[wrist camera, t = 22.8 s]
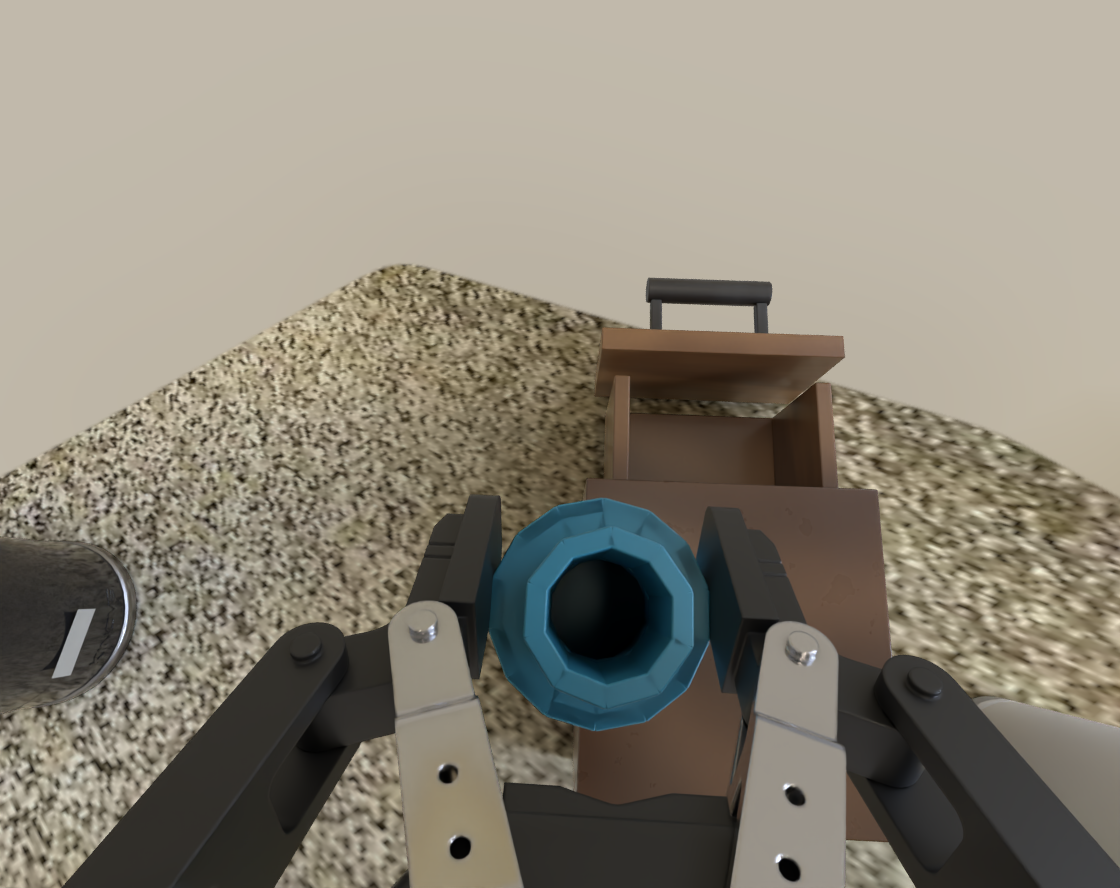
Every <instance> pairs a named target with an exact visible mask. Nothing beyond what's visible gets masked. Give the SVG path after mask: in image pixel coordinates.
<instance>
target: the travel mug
mask: <svg viewBox="0 0 1120 888" xmlns="http://www.w3.org/2000/svg"><path fill="white" fill-rule="evenodd" d="M972 700H973V702H974V703H975V704H976V705H977V706H978V707H979V708H980V710H981V711H982V712H983V713H984V714H985V715H986V716H987V718H988V719H989V720H990V721H991V722H992V723H993V724H994V725H995V727H996V728H997V729H998V730H999V731H1000V732H1001V733H1002V735H1003V736H1004V737H1005V738H1006V739H1007V740H1008V741H1009V743H1010V744H1011V745H1012V746H1013V747H1014V748H1015V749H1016V751H1017V752H1018V753H1019V754H1020V755H1021V756H1022V757H1023V759H1024V760H1025V761H1026V762H1027V763H1028V764H1029V765H1030V766H1031V768H1032V769H1033V770H1034V771H1035V772H1036V773H1037V774H1038V776H1039V777H1040V778H1041V779H1042V780H1043V781H1044V782H1045V784H1046V785H1047V786H1048V787H1049V788H1050V789H1051V790H1052V792H1053V793H1054V794H1055V795H1056V796H1057V797H1058V798H1059V800H1060V801H1061V802H1062V803H1063V804H1064V805H1065V806H1066V807H1067V809H1068V810H1069V811H1070V812H1071V813H1072V814H1073V815H1074V817H1075V818H1076V819H1077V820H1078V821H1079V822H1080V823H1081V825H1082V826H1083V827H1084V828H1085V829H1086V830H1087V831H1088V833H1089V834H1090V835H1091V836H1092V837H1093V838H1094V839H1095V840H1096V842H1097V843H1098V844H1099V845H1100V846H1101V847H1102V848H1103V850H1104V851H1105V852H1106V853H1107V854H1108V855H1109V856H1110V858H1111V859H1112V860H1113V861H1114V862H1115V863H1116V864H1117V866H1118V867H1119V868H1120V728H1118V727H1115V726H1111V725H1107V724H1103V723H1099V722H1095V721H1091V720H1087V719H1083V718H1079V717H1075V716H1071V715H1067V714H1063V713H1060V712H1056V711H1052V710H1048V709H1044V708H1040V707H1036V706H1032V705H1028V704H1024V703H1019V702H1016V701H1012V700H1008V699H1005V698H1000V697H993V696H983V697H977V698H973V699H972Z"/></svg>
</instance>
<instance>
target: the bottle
mask: <svg viewBox="0 0 1120 888" xmlns="http://www.w3.org/2000/svg"><path fill="white" fill-rule="evenodd" d="M708 589H709V587H708V585H707V583H706V580H705V578H704V576H703V574H702V572H701V570H700V567H699V565H698V563H697V561H696V559H695V557H694V555H693V552H692V550H691V548H690V546H689V544H687V542H686V541H685V540H684V539H683V538H682V537H681V536H679V535H678V534H677V533H676V532H675V531H674V530H672V529H671V528H670V527H669V526H668V525H667V524H665V523H664V522H663V521H662V520H661V519H660V518H658V517H657V516H656V515H655V514H654V513H653V512H651V511H649V510H647V509H643V508H640V507H636V506H633V505H629V504H626V503H622V502H619V501H615V500H611V499H608V498H604V499H603V498H596V499H591V500H585V501H579V502H573V503H567V504H562V505H558V506H557V507H556V506H555V507H553V508H552V509H550V510H549V511H548V512H546V513H545V514H543V515H542V516H541V517H539V518H538V519H536V520H535V521H534V522H532V523H531V524H529V525H528V526H527V527H525V528H524V529H522V530H521V531H519V532H518V534H517V535H515V537H514V539H513V541H512V542H511V544H510V546H509V548H508V550H507V551H506V553H505V555H504V557H503V558H502V560H501V562H500V564H499V566H498V567H497V569H496V571H495V573H494V574H493V583H492V595H491V608H490V620H489V634H490V637H491V639H492V642H493V645H494V647H495V650H496V653H497V655H498V658H499V661H500V664H501V666H502V669H503V672H504V674H505V677H506V678H507V680H508V681H509V682H510V683H511V684H512V685H513V686H514V687H515V688H516V689H517V690H518V691H519V692H520V693H521V694H522V695H523V696H524V697H525V698H526V699H527V700H528V701H529V702H530V703H531V704H533V705H534V706H535V707H536V708H537V709H538V710H539V711H540V712H541V713H542V714H543V715H545V716H546V717H549V718H552V719H555V720H559V721H562V722H565V723H568V724H572V725H575V726H578V727H581V728H584V729H588V730H591V731H602V730H607V729H613V728H618V727H624V726H629V725H634V724H640V723H645V722H646V721H649V720H650V719H651V718H653V717H654V716H655V715H656V714H658V713H659V712H660V711H661V710H663V709H664V708H665V707H666V706H668V705H669V704H670V703H672V702H673V701H674V700H675V699H677V698H678V697H679V696H680V695H682V694H683V693H684V692H685V691H686V690H687V689H688V688H689V686H690V684H691V682H692V680H693V677H694V675H695V673H696V671H697V669H698V667H699V665H700V662H701V660H702V658H703V656H704V654H705V652H706V649H707V647H708V645H709V641H710V592H709V590H708Z"/></svg>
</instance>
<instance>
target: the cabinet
mask: <svg viewBox="0 0 1120 888" xmlns="http://www.w3.org/2000/svg"><path fill="white" fill-rule="evenodd" d="M596 498H603V499H604V498H608V499H611V500H615V501H619V502H622V503H626V504H629V505H633V506H636V507H640V508H643V509H647V510H649V511H651V512H653V513H654V514H655V515H656V516H657V517H658V518H660V519H661V520H662V521H663V522H664V523H665V524H667V525H668V526H669V527H670V528H671V529H672V530H674V531H675V532H676V533H677V534H678V535H679V536H681V537H682V538H683V539H684V540H685V541H686V542H687V544H689V546H690V548H691V550H692V552H693V555H694V557H695V559H696V555H697V550H698V545H699V540H700V535H701V530H702V525H703V520H704V515H705V511H706V509H707V507H708V506H710V507H729V508H739V509H740V511H741V513H742V516H743V519H744V521H745V524H746V527H747V529H754V530H761V531H762V532H763V533H764V534H765V535H766V536H767V537H768V538H769V539H770V540H771V541H772V542H773V543H774V544H775V546H776V549H777V551H778V553H779V556H780V558H781V564H783V566H784V568H785V571H786V573H787V577H788V578H789V581H790V583H791V585H792V588H793V590H794V593H795V595H796V598H797V600H798V603H799V605H800V608H801V610H802V613H803V615H804V618H805V620H806V622H807V625H809V626H811V627H813V628H815V629H817V630H818V631H820V632H821V633H823V634H824V635H825V636H826V637H827V638H828V639H829V640H830V641H831V642H832V644H833V645H834V647H835V648H836V650H837V653H838V654H839V655H841V656H843V657H846V658H849V659H852V660H855V661H858V662H861V663H864V664H867V665H871V666H874V667H877V668H880V669H882V668H883V666H884V664H885V662H886V661H887V660H888V659H889V658H891V657H892V651H891V639H890V628H889V616H888V605H887V593H886V582H885V571H884V559H883V548H882V536H881V525H880V513H879V502H878V491H877V490H876V489H851V488H826V487H801V486H776V485H752V484H727V483H702V482H677V481H652V480H627V479H602V478H587V479H586V484H585V489H584V494H583V499H582V501H585V500H591V499H596ZM741 713H742V712H741V708H740V704H739V700H738V696H737V694H730V693H721V689H720V684H719V680H718V675H717V670H716V666H715V661H714V657H713V652H712V647H711V643H710V641H709V645H708V647H707V649H706V652H705V654H704V656H703V658H702V660H701V662H700V665H699V667H698V669H697V671H696V673H695V675H694V677H693V680H692V682H691V684H690V686H689V688H688V689H687V690H686V691H685V692H684V693H683V694H682V695H680V696H679V697H678V698H677V699H675V700H674V701H673V702H672V703H670V704H669V705H668V706H666V707H665V708H664V709H663V710H661V711H660V712H659V713H658V714H656V715H655V716H654V717H653V718H651V719H650V720H649V721H646V722H645V723H640V724H634V725H629V726H624V727H618V728H613V729H607V730H602V731H591V730H588V729H584V728H581V727H578V726H575V725H574V728H573V757H572V761H573V782H574V791H575V792H578V793H581V794H584V795H587V796H590V797H593V798H596V799H599V800H602V801H605V802H608V803H611V804H624V803H629V802H633V801H638V800H643V799H647V798H652V797H656V796H661V795H666V794H670V793H679V794H695V795H710V796H726V792H727V786H728V780H729V775H730V769H731V764H732V758H733V753H734V747H735V742H736V736H737V730H738V725H739V719H740V716H741ZM846 840H857V841H877V842H888V840H887V839H886V837H885V835H884V834H883V832H882V830H881V829H880V827H879V825H878V824H877V822H876V820H875V819H874V817H873V815H872V814H871V812H870V811H869V809H868V807H867V806H866V804H865V802H864V801H863V799H862V797H861V796H860V794H859V792H858V791H857V789H856V787H855V786H854V784H853V782H852V781H851V779H850V777H849V776H848V774H847V772H846Z"/></svg>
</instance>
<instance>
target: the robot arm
mask: <svg viewBox="0 0 1120 888" xmlns="http://www.w3.org/2000/svg"><path fill="white" fill-rule="evenodd" d="M501 554H502V528H501V498H500V496H494V495H475V494H471V495H470V496H469V499H468V502H467V506H466V509H465V512H464V514H447V515H446V516H444V517H443V518H442V519H441V520H440V521H439V522H438V523H437V524H436V525H435V526H434V529H433V532H432V534H431V537H430V540H429V545H428V546H427V548H426V551H425V554H424V558H423V560H422V562H421V565H420V568H419V571H418V574H417V576H416V579H415V582H414V585H413V588H412V590H411V593H410V596H409V599H408V602H407V604H406V606H405V607H404V608H403V609H401V610H400V611H399V612H397V613H396V615H395V616H394V617H393V618H392V620H391V622H390V623H389V624H387V625H385V626H383V627H381V628H378V629H376V630H373V631H369V632H364V633H359V634H355V635H350V636H345V637H344V635H343V634H342V632H341V631H340V630H339V629H338V628H337V627H335V626H334V625H331V624H328V623H319V622H316V623H309V624H304V625H301V626H298V627H296V628H294V629H292V630H290V631H288V632H287V633H285V634H284V635H283V636H281V637H280V638H279V639H278V640H277V641H276V642H275V643H274V645H273V646H272V647H271V648H270V649H269V650H268V652H267V653H266V654H265V655H264V656H263V657H262V658H261V660H260V661H259V662H258V663H257V664H256V665H255V666H254V668H253V669H252V670H251V671H250V672H249V673H248V674H247V676H246V677H245V678H244V679H243V680H242V681H241V683H240V684H239V685H238V686H237V687H236V688H235V689H234V691H233V692H232V693H231V694H230V695H229V696H228V697H227V699H226V700H225V701H224V702H223V703H222V704H221V705H220V707H219V708H218V709H217V710H216V711H215V712H214V713H213V715H212V716H211V717H210V718H209V719H208V720H207V722H206V723H205V724H204V725H203V726H202V727H201V728H200V730H199V731H198V732H197V733H196V734H195V735H194V736H193V738H192V739H191V740H190V741H189V742H188V743H187V744H186V746H185V747H184V748H183V749H182V750H181V751H180V753H179V754H178V755H177V756H176V757H175V758H174V759H173V761H172V762H171V763H170V764H169V765H168V766H167V767H166V769H165V770H164V771H163V772H162V773H161V774H160V775H159V777H158V778H157V779H156V780H155V781H154V782H153V784H152V785H151V786H150V787H149V788H148V789H147V790H146V792H145V793H144V794H143V795H142V796H141V797H140V798H139V800H138V801H137V802H136V803H135V804H134V805H133V806H132V808H131V809H130V810H129V811H128V812H127V813H126V814H125V816H124V817H123V818H122V819H121V820H120V821H119V823H118V824H117V825H116V826H115V827H114V828H113V829H112V831H111V832H110V833H109V834H108V835H107V836H106V837H105V839H104V840H103V841H102V842H101V843H100V844H99V845H98V847H97V848H96V849H95V850H94V851H93V852H92V854H91V855H90V856H89V857H88V858H87V859H86V860H85V862H84V863H83V864H82V865H81V866H80V867H79V868H78V870H77V871H76V872H75V873H74V874H73V875H72V876H71V878H70V879H69V880H68V881H67V882H66V883H65V885H64V886H63V887H62V888H274V887H275V885H276V884H277V882H278V880H279V879H280V877H281V875H282V874H283V872H284V870H285V869H286V867H287V865H288V864H289V862H290V860H291V859H292V857H293V855H294V854H295V852H296V850H297V849H298V847H299V846H300V844H301V842H302V841H303V839H304V837H305V836H306V834H307V832H308V831H309V829H310V827H311V826H312V824H313V822H314V821H315V819H316V817H317V816H318V814H319V812H320V811H321V809H322V807H323V806H324V804H325V802H326V801H327V799H328V797H329V796H330V794H331V792H332V791H333V789H334V787H335V786H336V784H337V782H338V781H339V779H340V777H341V776H342V774H343V773H344V771H345V769H346V768H347V766H348V764H349V763H350V761H351V759H352V758H353V756H354V754H355V753H356V751H357V749H358V748H359V746H360V744H361V742H362V741H366V740H370V739H374V738H378V737H382V736H386V735H390V734H394V733H396V743H397V754H398V764H399V775H400V786H401V797H402V807H403V818H404V829H405V839H406V850H407V861H408V870H407V871H406V872H405V873H404V874H403V875H402V876H401V877H400V878H399V880H398V881H397V882H396V883H395V884H394V885H393V886H392V887H391V888H845V883H846V772H847V774H848V776H849V777H850V779H851V781H852V782H853V784H854V786H855V787H856V789H857V791H858V792H859V794H860V796H861V797H862V799H863V801H864V802H865V804H866V806H867V807H868V809H869V811H870V812H871V814H872V815H873V817H874V819H875V820H876V822H877V824H878V825H879V827H880V829H881V830H882V832H883V834H884V835H885V837H886V839H887V840H888V842H889V844H890V845H891V847H892V849H893V850H894V852H895V854H896V855H897V857H898V859H899V860H900V862H901V864H902V865H903V867H904V869H905V870H906V872H907V874H908V875H909V877H910V878H911V880H912V882H913V883H914V885H915V887H916V888H1120V868H1119V867H1118V866H1117V864H1116V863H1115V862H1114V861H1113V860H1112V859H1111V858H1110V856H1109V855H1108V854H1107V853H1106V852H1105V851H1104V850H1103V848H1102V847H1101V846H1100V845H1099V844H1098V843H1097V842H1096V840H1095V839H1094V838H1093V837H1092V836H1091V835H1090V834H1089V833H1088V831H1087V830H1086V829H1085V828H1084V827H1083V826H1082V825H1081V823H1080V822H1079V821H1078V820H1077V819H1076V818H1075V817H1074V815H1073V814H1072V813H1071V812H1070V811H1069V810H1068V809H1067V807H1066V806H1065V805H1064V804H1063V803H1062V802H1061V801H1060V800H1059V798H1058V797H1057V796H1056V795H1055V794H1054V793H1053V792H1052V790H1051V789H1050V788H1049V787H1048V786H1047V785H1046V784H1045V782H1044V781H1043V780H1042V779H1041V778H1040V777H1039V776H1038V774H1037V773H1036V772H1035V771H1034V770H1033V769H1032V768H1031V766H1030V765H1029V764H1028V763H1027V762H1026V761H1025V760H1024V759H1023V757H1022V756H1021V755H1020V754H1019V753H1018V752H1017V751H1016V749H1015V748H1014V747H1013V746H1012V745H1011V744H1010V743H1009V741H1008V740H1007V739H1006V738H1005V737H1004V736H1003V735H1002V733H1001V732H1000V731H999V730H998V729H997V728H996V727H995V725H994V724H993V723H992V722H991V721H990V720H989V719H988V718H987V716H986V715H985V714H984V713H983V712H982V711H981V710H980V708H979V707H978V706H977V705H976V704H975V703H974V702H973V700H972V699H971V698H970V697H969V696H968V695H967V694H966V692H965V691H964V690H963V689H962V688H961V687H960V686H959V685H958V683H957V682H956V681H955V680H954V679H953V678H952V677H951V676H950V675H949V674H948V673H947V672H945V671H944V670H943V669H941V668H940V667H938V666H937V665H935V664H933V663H931V662H929V661H927V660H925V659H922V658H919V657H915V656H911V655H897V656H893V657H891V658H889V659H888V660H887V661H886V662H885V664H884V666H883V668H882V669H880V668H877V667H874V666H871V665H867V664H864V663H861V662H858V661H855V660H852V659H849V658H846V657H843V656H841V655H839V654H838V653H837V650H836V648H835V647H834V645H833V644H832V642H831V641H830V640H829V639H828V638H827V637H826V636H825V635H824V634H823V633H821V632H820V631H818V630H817V629H815V628H813V627H811V626H809V625H807V622H806V620H805V618H804V615H803V613H802V610H801V608H800V605H799V603H798V600H797V598H796V595H795V593H794V590H793V588H792V585H791V583H790V581H789V578H788V577H787V573H786V571H785V568H784V566H783V564H781V558H780V556H779V553H778V551H777V549H776V546H775V544H774V543H773V542H772V541H771V540H770V539H769V538H768V537H767V536H766V535H765V534H764V533H763V532H762V531H761V530H754V529H747V527H746V524H745V521H744V519H743V516H742V513H741V511H740V509H739V508H729V507H710V506H708V507H707V509H706V511H705V515H704V520H703V525H702V530H701V535H700V540H699V545H698V550H697V555H696V561H697V563H698V565H699V567H700V570H701V572H702V574H703V576H704V578H705V580H706V583H707V585H708V587H709V589H708V590H709V592H710V643H711V647H712V652H713V657H714V661H715V666H716V670H717V675H718V680H719V684H720V689H721V693H730V694H737V696H738V700H739V704H740V708H741V712H742V713H741V716H740V719H739V725H738V730H737V736H736V742H735V747H734V753H733V758H732V764H731V769H730V775H729V780H728V786H727V792H726V796H710V795H695V794H679V793H670V794H666V795H661V796H656V797H652V798H647V799H643V800H638V801H633V802H629V803H624V804H611V803H608V802H605V801H602V800H599V799H596V798H593V797H590V796H587V795H584V794H581V793H578V792H575V791H572V790H570V789H567V788H564V787H561V786H553V785H537V784H521V783H506V782H505V783H504V791H503V797H502V793H501V789H500V784H499V780H498V776H497V772H496V767H495V763H494V759H493V754H492V750H491V746H490V742H489V737H488V733H487V729H486V725H485V720H484V716H483V712H482V708H481V704H480V700H479V698H478V696H475V692H474V688H473V684H472V680H471V679H479V678H480V672H481V667H482V662H483V656H484V651H485V646H486V640H487V635H488V630H489V620H490V608H491V595H492V583H493V574H494V573H495V571H496V569H497V567H498V566H499V564H500V562H501ZM136 609H137V607H136V595H135V590H134V586H133V583H132V580H131V578H130V576H129V574H128V572H127V570H126V569H125V567H124V566H123V565H122V564H121V562H120V561H119V560H118V559H117V558H116V557H115V556H113V555H112V554H111V553H109V552H108V551H106V550H104V549H102V548H100V547H98V546H95V545H92V544H88V543H82V542H72V541H54V542H53V541H41V540H30V539H22V538H12V537H0V714H4V713H9V712H13V711H18V710H22V709H26V708H36V707H43V706H48V705H53V704H57V703H61V702H65V701H68V700H71V699H73V698H75V697H78V696H80V695H82V694H83V693H85V692H87V691H88V690H90V689H91V688H93V687H94V686H96V685H97V684H98V683H99V682H101V681H102V680H103V679H104V678H105V677H106V676H107V675H108V674H109V673H110V672H111V671H112V669H113V668H114V667H115V666H116V664H117V663H118V662H119V660H120V658H121V657H122V655H123V654H124V652H125V650H126V648H127V646H128V644H129V641H130V639H131V636H132V633H133V629H134V625H135V620H136Z"/></svg>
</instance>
